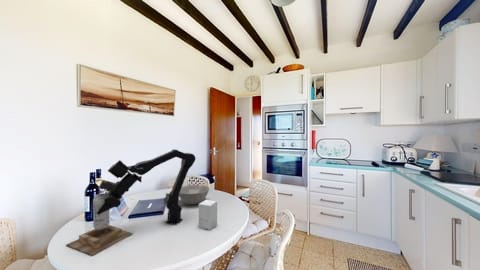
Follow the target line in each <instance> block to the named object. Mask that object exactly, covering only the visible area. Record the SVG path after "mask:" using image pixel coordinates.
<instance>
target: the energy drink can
mask: <svg viewBox="0 0 480 270" xmlns="http://www.w3.org/2000/svg"><path fill="white" fill-rule="evenodd" d="M107 195H108V194H107V193H105V192H104V193H97V194H95V195H94V198H93V199H92V215H93V219H92V221H93V223H92V224H93V225H92V227H93V229H96V230H101V229H104V228H106V227H108V225H110V209H109V210H107V211H105V212H103V213H101V214H99V215H98V214H97V212H98V210H99V209H100V208H101V206H102V205H103V204H104V199H105V198H106V197H107Z"/></svg>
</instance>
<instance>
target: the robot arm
mask: <svg viewBox="0 0 480 270" xmlns="http://www.w3.org/2000/svg"><path fill="white" fill-rule="evenodd" d="M174 158H179V159H180V160H181V161H180V168H179V172H178V174H177V175H176V178H175V181H174V183H173V186H172V189H171V191H170V192H169V193H168V192H166V195H165V197H164V199H163V204H164V206H165V208H166V209H167V211H168V212H167V220H166V221H165V223H167V224H171V225H177V224H179V223H181V222H183V218H182V213H181V212H182V210H183V207H182V206H181V205H179V201H180V197H179V193H180V190H181V188H182V187H183V185H184V182H185V179H186V178H187V175H188V172H189V170H190V169H191V167H192V166H193V165H194V164H195V161H196V156H195V154H193V153H191V152H186V153H185V152H183V151H179V149H176V148H175V149H171V150H170V151H168V152H166V153H163V154H160V155H158V156H157V157H154V158H152V159H148V160H144V161H140V162H136V164H134V165H133V164H132V165H130V166H127V165H126V164H125V163H124V162H123V161H122V160H118V161H116V163H114V164H112V166H110V167H109V169H107V172H109V174H110V175H112V176H114V177H115V178H116V179H118V178H121V179H120V180H119V181H118V180H117V181H116V182H112V181H109V180H105V179H102V180H101V182H100V183H99V186H98V189H100V190H105V192H104V193H107V194H108V195H107V197H106V198H105V199H104V204H103V205H102V206H101V208H100V209H99V210H98V212H97V214H98V215H99V214H101V213H103V212H105V211H107V210H109V211H110V210H111V209H113V208H119V207H120V205H121V204H122V203H121V199H122V198H123V196H124V195H125V194H126V193H127V192H129V191H130V189H131V187H133V185H135V184H136V182H137V181H138V182H139V183H142V178H143V177H142V176H144V175H145V174H148V172H150V171H152V169H154V168H155V167H157V166H159V165H161V164H164V163H166V162H167V161H170V160H172V159H174Z"/></svg>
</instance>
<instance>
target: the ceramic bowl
mask: <svg viewBox="0 0 480 270" xmlns="http://www.w3.org/2000/svg"><path fill="white" fill-rule="evenodd" d="M209 191H210V188H209V186H207V185H201V184H188V185H184V186H183V185H182V188H181V190H180V193H179V199H180V200H181V201H182V202H183V203H184V204H186V205H197V204H198V205H199V203H201V202H203V201H205V200H206V199H205V198H206V197H207V195H208V194H209Z"/></svg>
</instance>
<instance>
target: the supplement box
mask: <svg viewBox="0 0 480 270" xmlns="http://www.w3.org/2000/svg"><path fill="white" fill-rule="evenodd" d="M217 225H218V201H216V200H210V199H204V200H203V201H202V202H201V203H198V228H200V229H205V230H209V231H211V230H212V229H213V228H215V226H217Z"/></svg>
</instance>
